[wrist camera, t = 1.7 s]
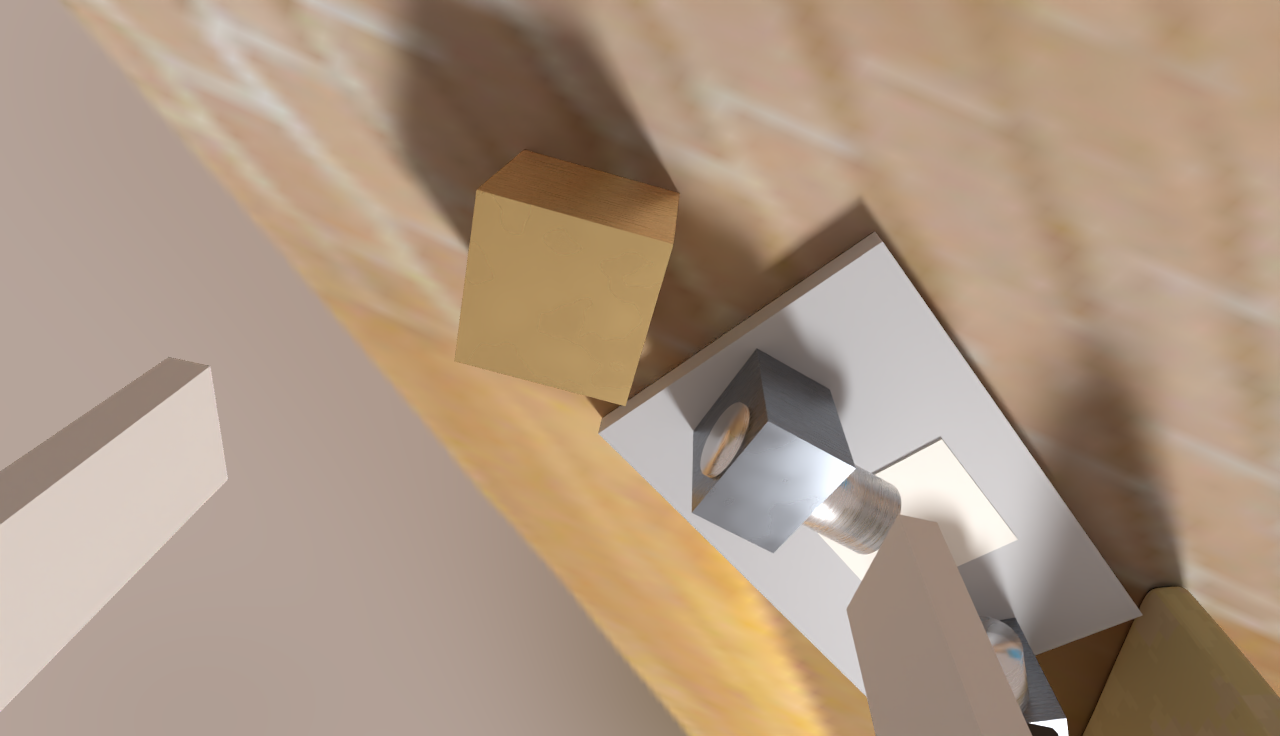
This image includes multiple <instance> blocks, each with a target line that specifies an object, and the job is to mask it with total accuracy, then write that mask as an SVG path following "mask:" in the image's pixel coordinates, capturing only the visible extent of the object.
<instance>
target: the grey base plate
mask: <svg viewBox="0 0 1280 736" xmlns="http://www.w3.org/2000/svg"><path fill="white" fill-rule="evenodd" d="M756 348H757V349H759V350H761V351H763V352H764V353H766V354H768V355H770V356H772V357H773V358H775V359H777V360H779V361H780V362H782V363H784V364H786V365H788V366H789V367H791V368H793V369H795V370H796V371H798V372H800V373H802V374H804V375H805V376H807V377H809V378H811V379H812V380H814V381H816V382H818V383H820V384H821V385H823V386H825V387H827V388H828V389H830V391H831V394H832V397H833V400H834V403H835V407H836V410H837V413H838V416H839V419H840V422H841V425H842V428H843V431H844V434H845V437H846V440H847V443H848V446H849V449H850V452H851V455H852V458H853V461H854V464H855V465H857V466H859V467H861V468H863V469H865V470H866V471H868V472H870V473H872V474H874V475H876V476H878V477H879V478H881V479H883V480H885V481H887V482H889V483H890V484H892V485H894V486H895V487H896V488H897V489H898V491H899V493H900V496H901V513H900V515H905V516H910V517H914V518H919V519H924V520H928V521H933V522H937V523H938V525H939V528H940V530H941V532H942V534H943V537H944V539H945V541H946V543H947V546H948V548H949V550H950V552H951V555H952V557H953V559H954V561H955V564H956V566H957V568H958V570H959V573H960V575H961V577H962V579H963V582H964V584H965V586H966V588H967V591H968V593H969V595H970V597H971V600H972V602H973V604H974V606H975V609H976V611H977V613H978V615H979V616H986V617H991V618H994V619H997V620H1003V619H1010V618H1016V620H1017V622H1018V624H1019V626H1020V628H1021V630H1022V631H1023V633H1024V635H1025V637H1026V639H1027V641H1028V643H1029V645H1030V647H1031V649H1032V651H1033V653H1034V655H1038V654H1041V653H1043V652H1046V651H1049V650H1051V649H1054V648H1057V647H1059V646H1062V645H1065V644H1067V643H1070V642H1073V641H1075V640H1078V639H1081V638H1083V637H1086V636H1089V635H1091V634H1094V633H1097V632H1099V631H1102V630H1105V629H1107V628H1110V627H1113V626H1115V625H1118V624H1121V623H1124V622H1126V621H1129V620H1132V619H1134V618H1137V617H1140V616H1142V613H1141V612H1140V610H1139V609H1138V607H1137V606H1136V604H1135V603H1134V602H1133V600H1132V599H1131V597H1130V596H1129V594H1128V593H1127V592H1126V590H1125V589H1124V587H1123V586H1122V584H1121V583H1120V582H1119V580H1118V579H1117V577H1116V576H1115V574H1114V573H1113V571H1112V570H1111V569H1110V567H1109V566H1108V564H1107V563H1106V561H1105V560H1104V559H1103V557H1102V556H1101V554H1100V553H1099V551H1098V550H1097V549H1096V547H1095V546H1094V544H1093V543H1092V541H1091V540H1090V538H1089V537H1088V536H1087V534H1086V533H1085V531H1084V530H1083V528H1082V527H1081V526H1080V524H1079V523H1078V521H1077V520H1076V518H1075V517H1074V515H1073V514H1072V513H1071V511H1070V510H1069V508H1068V507H1067V505H1066V504H1065V503H1064V501H1063V500H1062V498H1061V497H1060V495H1059V494H1058V493H1057V491H1056V490H1055V488H1054V487H1053V485H1052V484H1051V482H1050V481H1049V480H1048V478H1047V477H1046V475H1045V474H1044V472H1043V471H1042V470H1041V468H1040V467H1039V465H1038V464H1037V462H1036V461H1035V460H1034V458H1033V457H1032V455H1031V454H1030V452H1029V451H1028V449H1027V448H1026V447H1025V445H1024V444H1023V442H1022V441H1021V439H1020V438H1019V437H1018V435H1017V434H1016V432H1015V431H1014V429H1013V428H1012V427H1011V425H1010V424H1009V422H1008V421H1007V419H1006V418H1005V416H1004V415H1003V414H1002V412H1001V411H1000V409H999V408H998V406H997V405H996V404H995V402H994V401H993V399H992V398H991V396H990V395H989V394H988V392H987V391H986V389H985V388H984V386H983V385H982V383H981V382H980V381H979V379H978V378H977V376H976V375H975V373H974V372H973V371H972V369H971V368H970V366H969V365H968V363H967V362H966V361H965V359H964V358H963V356H962V355H961V353H960V352H959V350H958V349H957V348H956V346H955V345H954V343H953V342H952V340H951V339H950V338H949V336H948V335H947V333H946V332H945V330H944V329H943V328H942V326H941V325H940V323H939V322H938V320H937V319H936V317H935V316H934V315H933V313H932V312H931V310H930V309H929V307H928V306H927V305H926V303H925V302H924V300H923V299H922V297H921V296H920V294H919V293H918V292H917V290H916V289H915V287H914V286H913V284H912V283H911V282H910V280H909V279H908V277H907V276H906V274H905V273H904V272H903V270H902V269H901V267H900V266H899V264H898V263H897V261H896V260H895V259H894V257H893V256H892V254H891V253H890V251H889V250H888V249H887V247H886V246H885V244H884V243H883V241H882V240H881V239H880V237H879V236H878V235H877V233H876V232H873V233H872V234H870V235H869V236H867V237H866V238H864V239H863V240H861V241H860V242H859V243H857V244H856V245H854V246H853V247H851V248H850V249H848V250H847V251H845V252H844V253H842V254H841V255H840V256H838V257H837V258H835V259H834V260H832V261H831V262H829V263H828V264H826V265H825V266H824V267H822V268H821V269H819V270H818V271H816V272H815V273H813V274H812V275H810V276H809V277H807V278H806V279H805V280H803V281H802V282H800V283H799V284H797V285H796V286H794V287H793V288H791V289H790V290H789V291H787V292H786V293H784V294H783V295H781V296H780V297H778V298H777V299H775V300H774V301H772V302H771V303H770V304H768V305H767V306H765V307H764V308H762V309H761V310H759V311H758V312H756V313H755V314H753V315H752V316H751V317H749V318H748V319H746V320H745V321H743V322H742V323H740V324H739V325H737V326H736V327H735V328H733V329H732V330H730V331H729V332H727V333H726V334H724V335H723V336H721V337H720V338H718V339H717V340H716V341H714V342H713V343H711V344H710V345H708V346H707V347H705V348H704V349H702V350H701V351H700V352H698V353H697V354H695V355H694V356H692V357H691V358H689V359H688V360H686V361H685V362H683V363H682V364H681V365H679V366H678V367H676V368H675V369H673V370H672V371H670V372H669V373H667V374H666V375H664V376H663V377H662V378H660V379H659V380H657V381H656V382H654V383H653V384H651V385H650V386H648V387H647V388H646V389H644V390H643V391H641V392H640V393H638V394H637V395H635V396H634V397H632V398H631V399H629V400H628V401H627V403H626V406H623V405H621V406H619V407H618V408H616V409H615V410H613V411H612V412H611V413H609V414H608V415H606V416H605V417H603V418H602V420H601V425H600V429H599V433H598V434H599V435H600V436H601V437H602V438H603V439H604V440H605V441H606V442H608V443H609V444H610V445H611V446H612V447H613V448H614V449H615V450H616V451H617V452H618V453H619V454H620V455H621V456H622V457H623V458H624V459H625V460H626V461H627V462H628V463H629V464H630V465H631V466H632V467H633V468H634V469H635V470H636V471H637V472H638V473H639V474H640V475H641V476H642V477H643V478H644V479H645V480H646V481H647V482H648V483H649V484H650V485H651V486H652V487H653V488H654V489H655V490H656V491H657V492H658V493H660V494H661V495H662V496H663V497H664V498H665V499H666V500H667V501H668V502H669V503H670V504H671V505H672V506H673V507H674V508H675V509H676V510H677V511H678V512H679V513H680V514H681V515H682V516H683V517H684V518H685V519H686V520H687V521H688V522H689V523H690V524H691V525H692V526H693V527H694V528H695V529H696V530H697V531H698V532H699V533H700V534H701V535H702V536H703V537H704V538H705V539H706V540H707V541H708V542H709V543H710V544H711V545H713V546H714V547H715V548H716V549H717V550H718V551H719V552H720V553H721V554H722V555H723V556H724V557H725V558H726V559H727V560H728V561H729V562H730V563H731V564H732V565H733V566H734V567H735V568H736V569H737V570H738V571H739V572H740V573H741V574H742V575H743V576H744V577H745V578H746V579H747V580H748V581H749V582H750V583H751V584H752V585H753V586H754V587H755V588H756V589H757V590H758V591H759V592H760V593H761V594H762V595H763V596H764V597H766V598H767V599H768V600H769V601H770V602H771V603H772V604H773V605H774V606H775V607H776V608H777V609H778V610H779V611H780V612H781V613H782V614H783V615H784V616H785V617H786V618H787V619H788V620H789V621H790V622H791V623H792V624H793V625H794V626H795V627H796V628H797V629H798V630H799V631H800V632H801V633H802V634H803V635H804V636H805V637H806V638H807V639H808V640H809V641H810V642H811V643H812V644H813V645H814V646H815V647H816V648H818V649H819V650H820V651H821V652H822V653H823V654H824V655H825V656H826V657H827V658H828V659H829V660H830V661H831V662H832V663H833V664H834V665H835V666H836V667H837V668H838V669H839V670H840V671H841V672H842V673H843V674H844V675H845V676H846V677H847V678H848V679H849V680H850V681H851V682H852V683H853V684H854V685H855V686H856V687H857V688H858V689H859V690H860V691H861V692H862V693H863V694H864V695H865V696H866V691H865V687H864V683H863V679H862V674H861V670H860V666H859V661H858V657H857V653H856V649H855V644H854V640H853V636H852V632H851V627H850V623H849V619H848V615H847V610H846V609H847V607H848V605H849V603H850V601H851V600H852V598H853V596H854V594H855V592H856V590H857V589H858V587H859V585H860V583H861V581H862V580H863V578H864V576H865V574H866V572H867V570H868V569H869V567H870V565H871V563H872V561H873V559H874V558H875V556H876V554H877V552H878V550H879V549H878V550H877V551H875V552H873V553H870V554H866V555H862V554H858V553H856V552H854V551H852V550H850V549H848V548H846V547H845V546H843V545H841V544H839V543H837V542H835V541H833V540H831V539H829V538H827V537H825V536H823V535H821V534H819V533H817V532H815V531H813V530H811V529H809V528H807V527H805V526H803V525H802V524H801V526H800V527H799V528H798V529H797V530H796V531H795V532H794V533H793V534H792V535H791V536H790V537H789V538H788V539H787V540H786V541H785V542H784V543H783V544H782V545H781V546H780V547H779V548H778V549H777V550H776V551H775V552H774V553H771V552H769V551H767V550H765V549H763V548H761V547H759V546H757V545H755V544H753V543H751V542H749V541H747V540H745V539H743V538H741V537H739V536H737V535H735V534H733V533H731V532H729V531H727V530H725V529H723V528H721V527H719V526H717V525H715V524H713V523H711V522H709V521H707V520H705V519H703V518H701V517H699V516H697V515H695V514H693V513H692V468H693V431H694V429H695V428H696V427H697V425H698V424H699V423H700V421H701V420H702V419H703V418H704V416H705V415H706V414H707V412H708V411H709V410H710V408H711V407H712V406H713V404H714V403H715V402H716V401H717V399H718V398H719V397H720V395H721V394H722V393H723V391H724V390H725V389H726V387H727V386H728V385H729V384H730V382H731V381H732V380H733V378H734V377H735V376H736V374H737V373H738V372H739V370H740V369H741V368H742V367H743V365H744V364H745V363H746V361H747V360H748V359H749V357H750V356H751V355H752V354H753V352H754V351H755V350H756ZM866 697H867V696H866Z"/></svg>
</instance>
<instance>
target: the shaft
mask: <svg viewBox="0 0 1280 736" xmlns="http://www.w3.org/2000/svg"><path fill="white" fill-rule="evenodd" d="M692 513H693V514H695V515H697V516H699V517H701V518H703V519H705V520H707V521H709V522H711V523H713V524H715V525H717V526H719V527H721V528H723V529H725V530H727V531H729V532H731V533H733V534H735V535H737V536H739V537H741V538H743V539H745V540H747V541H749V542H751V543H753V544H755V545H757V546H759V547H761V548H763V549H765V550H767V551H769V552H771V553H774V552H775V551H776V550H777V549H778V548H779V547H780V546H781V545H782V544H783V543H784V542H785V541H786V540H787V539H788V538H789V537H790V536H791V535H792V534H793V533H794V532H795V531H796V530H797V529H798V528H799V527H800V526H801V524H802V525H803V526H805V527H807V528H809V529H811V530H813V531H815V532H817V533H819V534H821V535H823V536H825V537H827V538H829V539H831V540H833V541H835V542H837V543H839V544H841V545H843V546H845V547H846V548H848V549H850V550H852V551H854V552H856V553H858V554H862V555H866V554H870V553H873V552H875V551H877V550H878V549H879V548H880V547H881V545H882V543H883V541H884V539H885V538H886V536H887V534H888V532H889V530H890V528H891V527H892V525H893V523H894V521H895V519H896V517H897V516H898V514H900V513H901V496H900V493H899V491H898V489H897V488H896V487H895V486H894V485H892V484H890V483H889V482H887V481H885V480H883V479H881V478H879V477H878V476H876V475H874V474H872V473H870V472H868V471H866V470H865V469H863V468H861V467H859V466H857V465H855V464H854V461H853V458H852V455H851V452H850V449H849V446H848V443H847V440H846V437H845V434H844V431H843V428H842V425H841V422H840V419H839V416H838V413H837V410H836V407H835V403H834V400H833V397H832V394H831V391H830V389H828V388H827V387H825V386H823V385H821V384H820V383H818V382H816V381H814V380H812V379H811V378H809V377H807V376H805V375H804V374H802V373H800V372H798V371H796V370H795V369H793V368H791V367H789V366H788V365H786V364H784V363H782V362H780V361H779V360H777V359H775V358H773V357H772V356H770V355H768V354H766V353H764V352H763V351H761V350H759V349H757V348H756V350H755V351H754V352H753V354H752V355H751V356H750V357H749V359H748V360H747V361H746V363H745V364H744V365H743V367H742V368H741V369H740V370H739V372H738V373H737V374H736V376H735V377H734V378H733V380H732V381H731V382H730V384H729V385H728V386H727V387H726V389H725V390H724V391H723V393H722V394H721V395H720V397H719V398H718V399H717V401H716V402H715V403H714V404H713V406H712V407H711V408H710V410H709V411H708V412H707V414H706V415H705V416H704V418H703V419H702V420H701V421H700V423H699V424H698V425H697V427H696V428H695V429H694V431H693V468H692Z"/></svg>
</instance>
